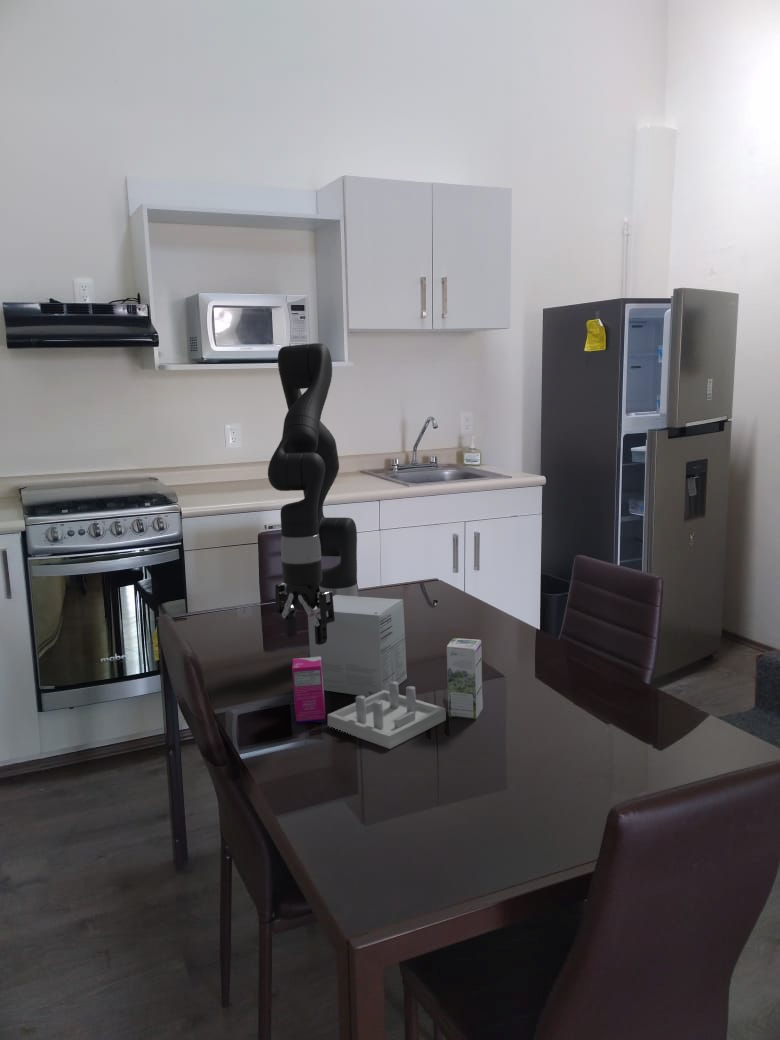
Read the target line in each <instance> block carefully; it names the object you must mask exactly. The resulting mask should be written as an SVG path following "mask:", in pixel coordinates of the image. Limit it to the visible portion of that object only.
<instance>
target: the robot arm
mask: <svg viewBox="0 0 780 1040" xmlns="http://www.w3.org/2000/svg"><path fill="white" fill-rule="evenodd" d="M277 368H278V372H279V373H278V374H279V378H280V381H281V386H282V390H283V394H284V397H285V402H286V405H287V406H286V407H287V409H288V411H286V414H285V417H284V420H283V421H284V422H283V427H282V428H283V429H282V435H281V436H282V437H281V440H280V442H279V444H278V445H277V448H276V449H275V451H274V452H273V455H272V456H271V458H270V460H269V464H268V468H267V477H268V481H269V483H270V485H271V486H272V488H273V489H275V490H277V491H280V492H281V491H282V492H292V491H296V492H297V491H303V497H304V498H303V499H300V500H299V501H294V502H291V503H290V502H289V503H287V504H284V505H283V506H281V508H280V529H281V543H280V552H281V553H280V555H281V569H282V571H281V572H282V582H281V583H277V584H275V586H274V587H275V589H274V591H275V594H274V595H275V613H276V614H277V615H279V614H280V615H281V617H282V618H283V621H284V632H285V636H286V637H287V638H292V637H295V636H297V618H296V616H295V615H296V613H297V612H298V611H302V612H306V615H307V617H308V616H309V617H311V618H312V620H313V622H314V623H315V625H316V626H315V643H316V644H317V645H321V644H324V643H326V641H327V624H328V623H331V622H334V620H335V617H334V606H333V596H335V595H344V596H357V597H359V595H358V562H357V561H358V560H357V559H358V558H357V557H358V554H357V553H358V549H357V548H358V531H357V526H356V523H355V521H354V519H353V518H351V517H325V515H324V504H325V500H326V497H327V495H328V493H329V492H330V489H331V487H332V486H333V484H334V483H335V481H336V478H337V476H338V473H339V469H340V461H339V455H338V449H337V442H336V439H335V437H334V436H333V434H332V433H331V431H330V430H329V429H328V428H327V426H326V425H324V423H323V422H322V421H321V418H322V414H323V410H324V406H325V403H326V400H327V397H328V394H329V391H330V390H329V389H330V387H331V383H332V378H333V361H332V356H331V352H330V349H329V347H328V346H327V345H326V344H324V343H319V342H318V343H317V342H316V343H306V344H304V343H303V344H293V345H286V346H282V347H281V348H280V349H279V350H278V353H277ZM303 389H306V390H305V391H304V392H303V393H302V390H303ZM322 557H340V560H339V561H340V562H339V563H338V564H337V565H335V566H333V567H330V568H327V569H324V570H323V568H322V567H323V565H322ZM282 603H283V605H282ZM315 607H317V609H315V610H313V609H314V608H315ZM327 611H328V617H327V615H326V612H327ZM317 614H318V615H319V616H320V618H321V619H319V618H318V616H317Z"/></svg>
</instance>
